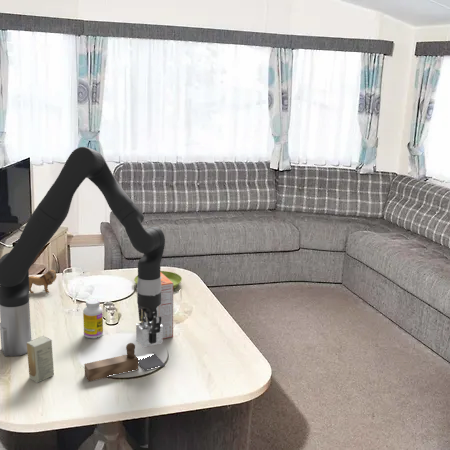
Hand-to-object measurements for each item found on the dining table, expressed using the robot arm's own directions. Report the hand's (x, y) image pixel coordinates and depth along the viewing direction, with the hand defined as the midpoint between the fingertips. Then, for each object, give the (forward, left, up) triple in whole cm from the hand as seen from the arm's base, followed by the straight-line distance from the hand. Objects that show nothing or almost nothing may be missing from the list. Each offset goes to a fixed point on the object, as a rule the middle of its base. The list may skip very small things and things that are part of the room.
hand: (149, 339), depth 189 cm
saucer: (+30, +62, -9) cm, 69 cm away
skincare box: (-33, +6, -8) cm, 35 cm away
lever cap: (0, 0, -1) cm, 1 cm away
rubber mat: (0, 0, -8) cm, 8 cm away
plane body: (-13, -1, -8) cm, 16 cm away
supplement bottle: (-10, +27, -8) cm, 30 cm away
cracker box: (+12, +20, -8) cm, 25 cm away
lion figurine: (-17, +76, -8) cm, 79 cm away
